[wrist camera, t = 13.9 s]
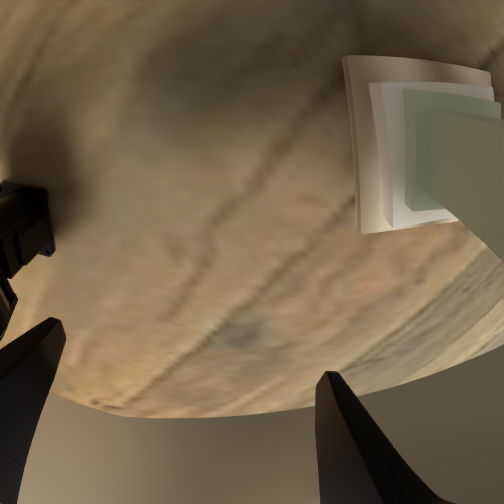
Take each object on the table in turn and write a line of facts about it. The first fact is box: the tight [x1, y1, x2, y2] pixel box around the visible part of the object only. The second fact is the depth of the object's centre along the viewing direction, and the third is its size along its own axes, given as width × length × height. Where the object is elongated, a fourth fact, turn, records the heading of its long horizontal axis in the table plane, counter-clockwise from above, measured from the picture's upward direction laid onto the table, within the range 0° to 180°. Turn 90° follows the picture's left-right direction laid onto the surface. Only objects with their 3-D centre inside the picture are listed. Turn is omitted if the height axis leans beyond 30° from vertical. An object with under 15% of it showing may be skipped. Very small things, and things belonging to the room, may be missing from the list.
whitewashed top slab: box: [368, 82, 494, 229], centre depth 15 cm, size 9×9×2 cm
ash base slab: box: [341, 55, 492, 234], centre depth 17 cm, size 12×12×2 cm
